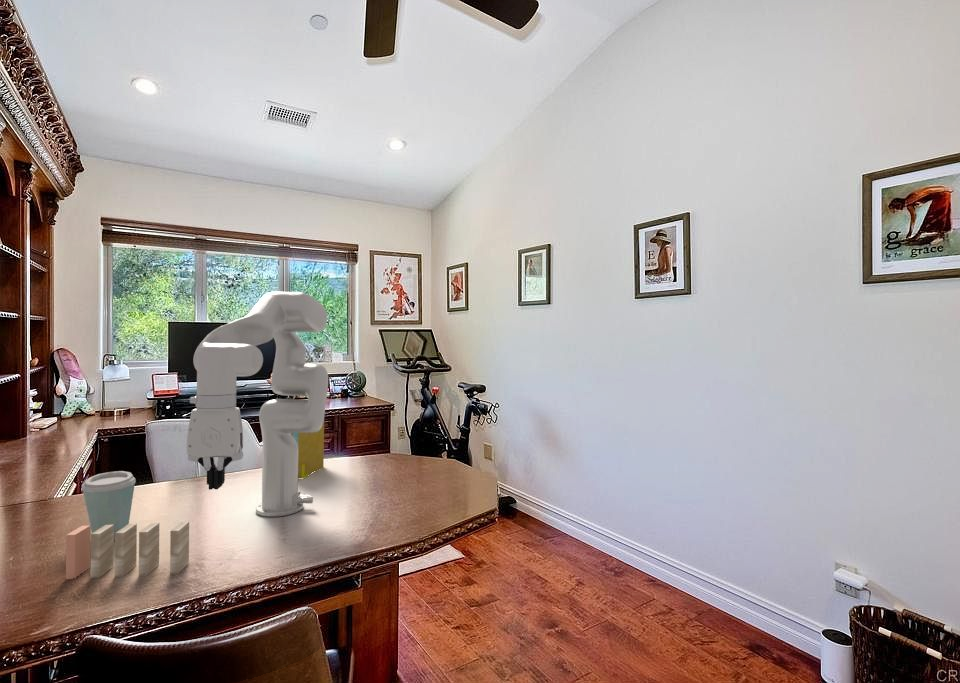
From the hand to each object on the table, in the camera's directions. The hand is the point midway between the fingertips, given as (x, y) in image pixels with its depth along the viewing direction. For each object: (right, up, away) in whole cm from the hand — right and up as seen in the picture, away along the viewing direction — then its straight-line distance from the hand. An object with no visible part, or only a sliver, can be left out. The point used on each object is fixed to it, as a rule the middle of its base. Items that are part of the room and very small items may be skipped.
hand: (215, 487), depth 106 cm
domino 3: (-18, -17, -2) cm, 24 cm away
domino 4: (-13, -17, -2) cm, 21 cm away
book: (-6, -17, +75) cm, 77 cm away
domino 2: (-22, -17, -3) cm, 28 cm away
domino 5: (-7, -17, -1) cm, 18 cm away
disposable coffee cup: (-34, -17, +14) cm, 40 cm away
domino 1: (-26, -17, -4) cm, 32 cm away
